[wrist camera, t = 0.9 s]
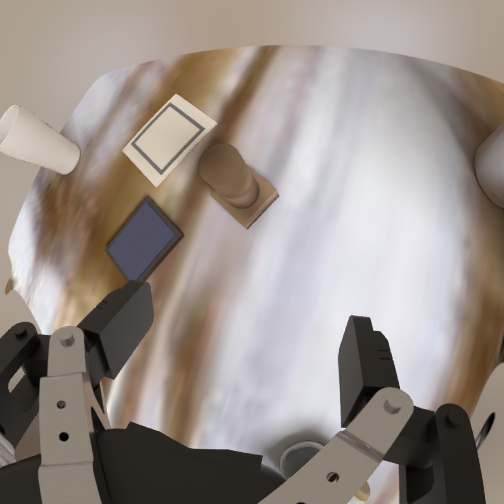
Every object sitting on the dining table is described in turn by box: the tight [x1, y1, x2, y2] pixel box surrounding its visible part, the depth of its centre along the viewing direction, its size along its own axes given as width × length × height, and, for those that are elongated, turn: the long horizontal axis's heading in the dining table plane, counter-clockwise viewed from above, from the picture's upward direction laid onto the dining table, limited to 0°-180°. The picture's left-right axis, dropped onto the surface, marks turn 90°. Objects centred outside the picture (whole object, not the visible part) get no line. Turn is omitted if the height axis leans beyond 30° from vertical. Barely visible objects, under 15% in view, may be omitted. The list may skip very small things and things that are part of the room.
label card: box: [122, 94, 217, 187], centre depth 36 cm, size 11×9×1 cm
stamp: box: [198, 143, 279, 229], centre depth 28 cm, size 5×5×10 cm
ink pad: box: [105, 197, 184, 282], centre depth 34 cm, size 9×7×1 cm
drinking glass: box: [0, 105, 80, 175], centre depth 33 cm, size 7×7×15 cm
